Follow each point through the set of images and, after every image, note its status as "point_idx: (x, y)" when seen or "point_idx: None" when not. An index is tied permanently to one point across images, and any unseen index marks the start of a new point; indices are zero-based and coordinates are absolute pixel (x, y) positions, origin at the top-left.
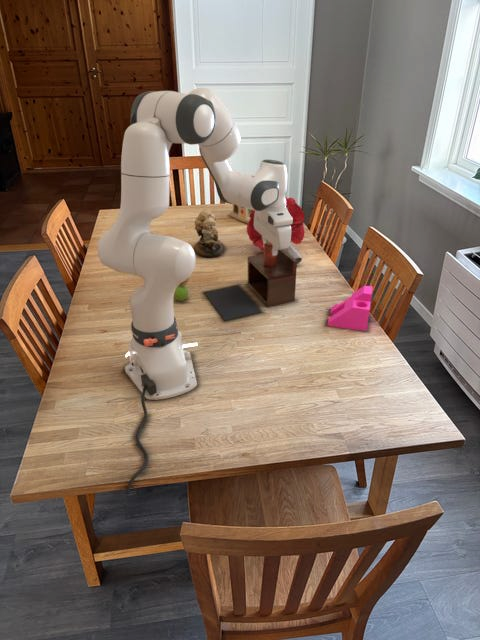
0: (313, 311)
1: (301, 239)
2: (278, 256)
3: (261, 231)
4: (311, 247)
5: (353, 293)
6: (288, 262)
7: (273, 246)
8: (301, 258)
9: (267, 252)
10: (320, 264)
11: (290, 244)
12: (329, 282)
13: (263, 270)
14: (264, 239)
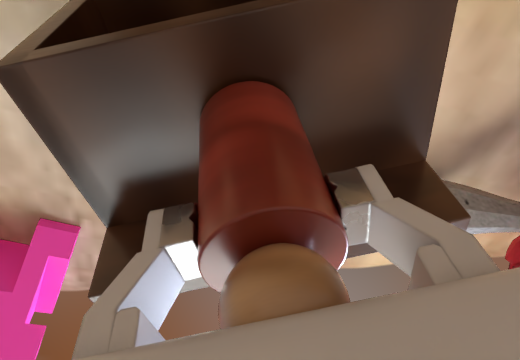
0: (56, 177)
1: (512, 264)
2: None
3: (507, 351)
4: (492, 248)
5: (36, 331)
6: None
7: (96, 321)
8: None
9: (212, 181)
10: None
11: (505, 231)
12: None
13: (143, 51)
14: (412, 241)
